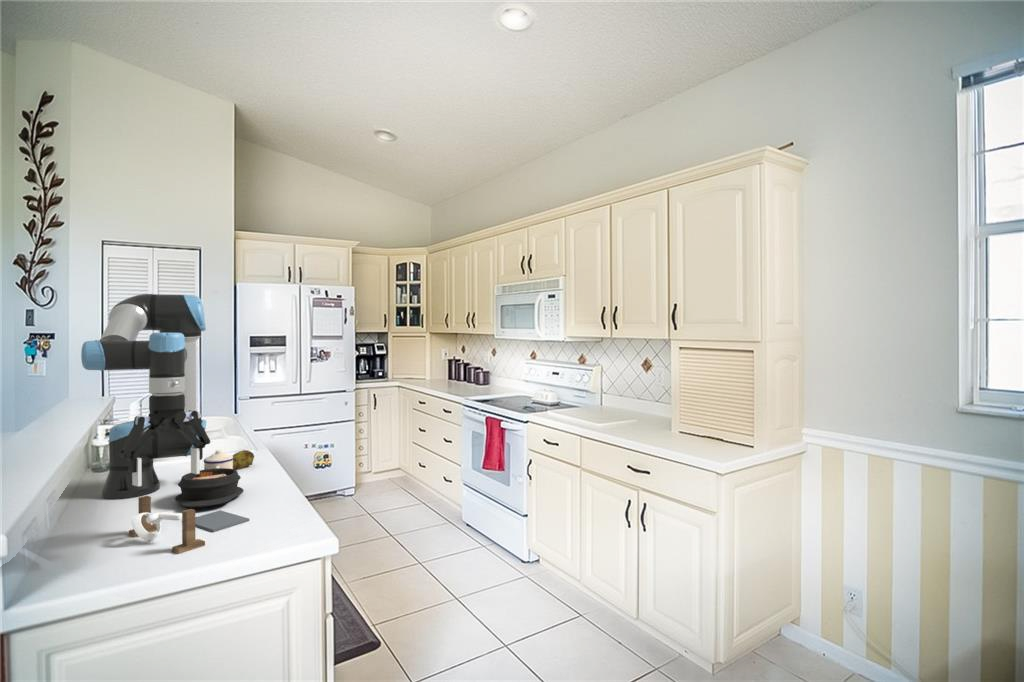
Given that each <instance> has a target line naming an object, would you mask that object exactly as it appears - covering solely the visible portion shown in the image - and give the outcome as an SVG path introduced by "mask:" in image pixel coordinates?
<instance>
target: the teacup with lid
mask: <svg viewBox="0 0 1024 682" xmlns="http://www.w3.org/2000/svg"><path fill="white" fill-rule="evenodd" d="M233 459H234V458H233V454H227V453H225V452H223V450H222V449H217V450H215V452H214V453H212V454H211V455H210V456H207V457H205V458H204V459H203V463H204V464H203V466H204V467H203V470H206V469H215V468H228V469H233Z"/></svg>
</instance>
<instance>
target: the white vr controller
mask: <svg viewBox="0 0 1024 682" xmlns="http://www.w3.org/2000/svg"><path fill="white" fill-rule="evenodd" d="M143 515H145V516H147V518H146V522H147V523H149V524H150V523H151V524H155V525H156V527H157V530H156V531H157V532H155V533H153V532H148V531H146V530H145V529H144V527H143V526H142V523H141V518H142V516H143ZM162 520H166V521H182V512H172V511H171V512H170V511H169V512H166V511H158V512H156V513H155V512H154V513H152V512H151V513H148V512H145V513H140V514H139V513H137V514H136V515H134V516H133V518H132V520H131V525H132V526H131V527H132V530H133V529H134V531H135V532H136V534H137V535H138V537H139V538H140V539H142V540H144V541H148V542H152V541H154V540H156V539H157V538H158V537H159V535H160V534H161V532H162V527H163V526H162V523H161V521H162Z"/></svg>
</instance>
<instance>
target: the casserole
mask: <svg viewBox="0 0 1024 682" xmlns="http://www.w3.org/2000/svg"><path fill="white" fill-rule="evenodd" d="M241 479H242V478H241V476H240V474H239V473H238V470H234V469H228V468H215V469H206V470H204V469H200V474H194V473H191V472H188V473H186V474H184V475H183V476H181V478H180V481H179V482H178V483H177V485H178V487H179V489H180V491H181V493H180V494H178V495H177V496H175V497H174V501H175V502H177V503H179V504H181V506H183V507H185V508H203V507H210V506H211V507H212V506H218V505H223V504H226V503H228V502H230V501H232V500H233V499H234V498H236V497H238V496H240V495H242V494H243V493H244V491H245V490H244V488H242V487H241V486H238V485H239V481H240V480H241Z"/></svg>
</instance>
